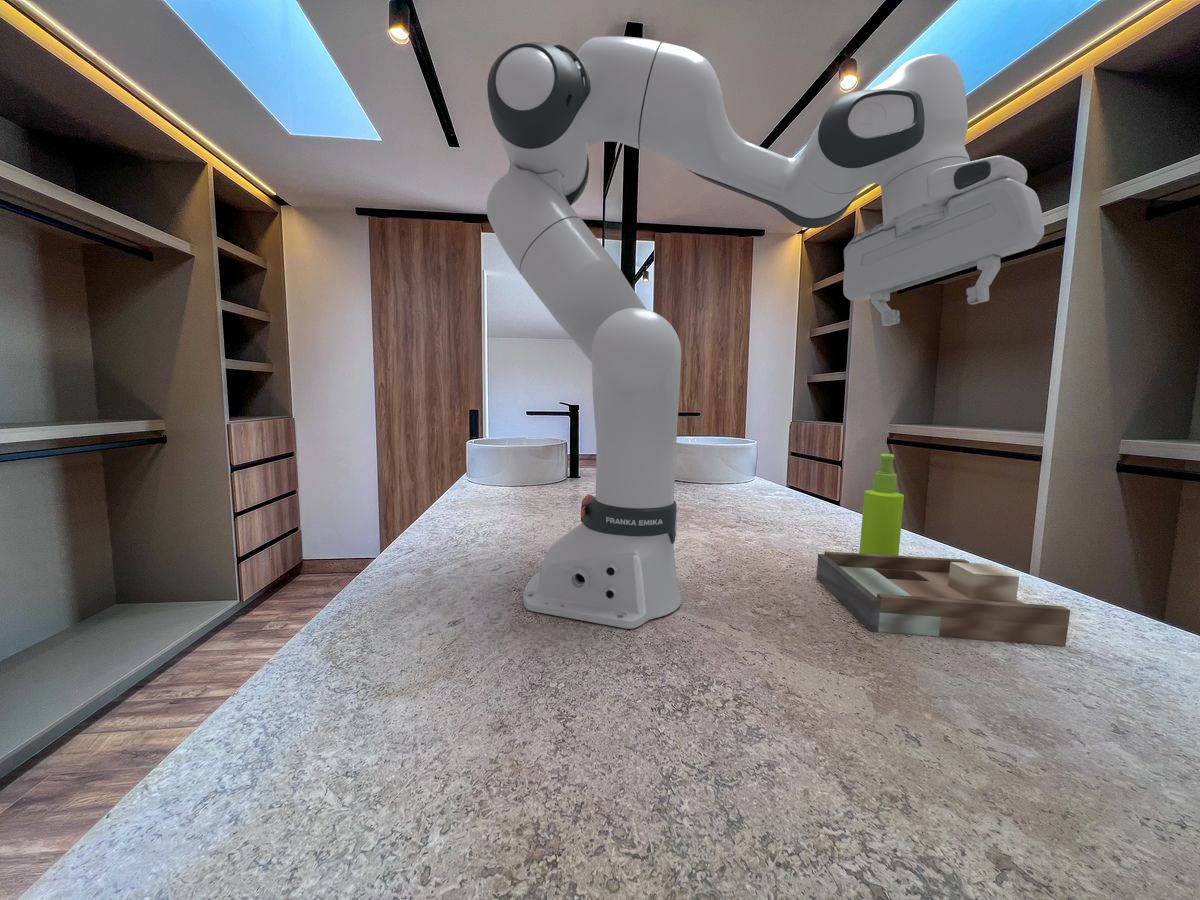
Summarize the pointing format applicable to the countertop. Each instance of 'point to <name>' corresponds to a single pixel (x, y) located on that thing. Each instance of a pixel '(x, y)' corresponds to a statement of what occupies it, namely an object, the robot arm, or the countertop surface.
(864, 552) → the soap dispenser
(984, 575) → the maple block
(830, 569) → the board
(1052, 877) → the countertop surface
